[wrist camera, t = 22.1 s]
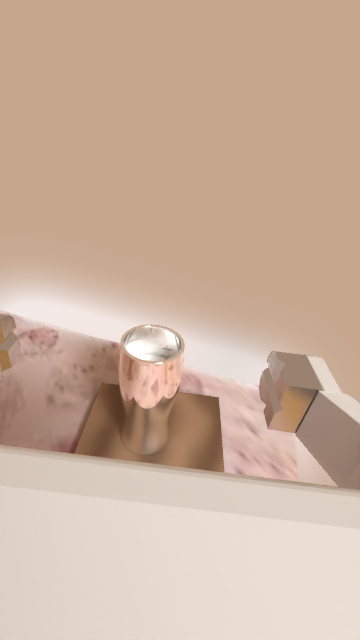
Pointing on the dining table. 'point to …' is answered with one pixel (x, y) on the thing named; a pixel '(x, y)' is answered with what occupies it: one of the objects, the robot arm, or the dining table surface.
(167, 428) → the beer glass
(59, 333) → the dining table surface
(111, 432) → the walnut board
